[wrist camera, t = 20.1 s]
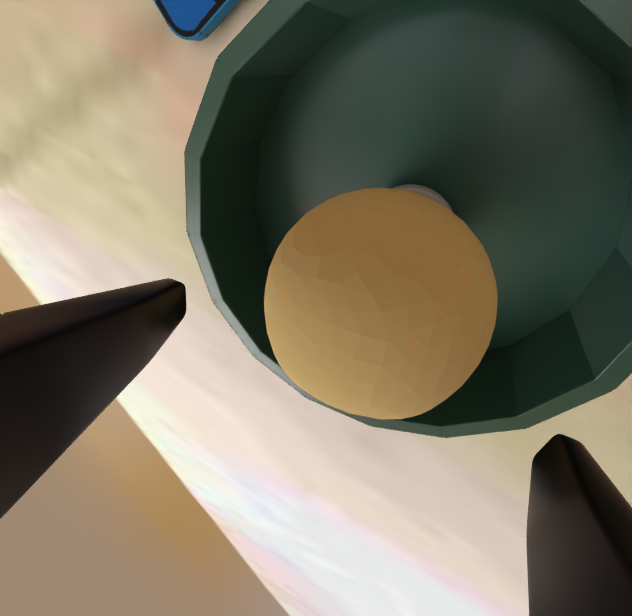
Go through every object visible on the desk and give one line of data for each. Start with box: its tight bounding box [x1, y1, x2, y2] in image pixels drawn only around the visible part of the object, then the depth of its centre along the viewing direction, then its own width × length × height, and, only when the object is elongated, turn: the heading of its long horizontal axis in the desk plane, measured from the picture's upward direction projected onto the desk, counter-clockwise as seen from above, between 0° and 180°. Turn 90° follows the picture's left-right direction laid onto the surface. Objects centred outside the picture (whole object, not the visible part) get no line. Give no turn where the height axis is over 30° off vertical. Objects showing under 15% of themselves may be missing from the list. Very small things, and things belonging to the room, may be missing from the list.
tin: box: [184, 0, 632, 438], centre depth 15 cm, size 16×16×5 cm
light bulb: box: [264, 184, 498, 419], centre depth 12 cm, size 6×6×10 cm
